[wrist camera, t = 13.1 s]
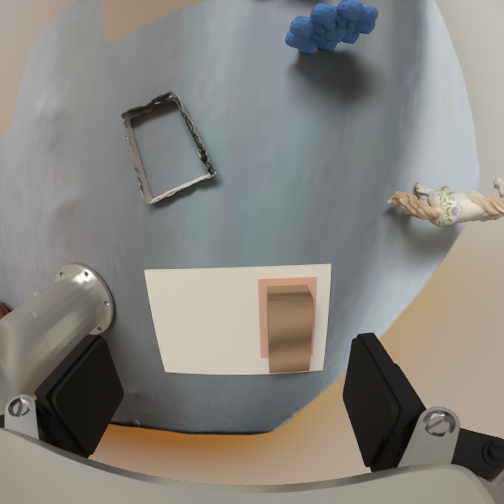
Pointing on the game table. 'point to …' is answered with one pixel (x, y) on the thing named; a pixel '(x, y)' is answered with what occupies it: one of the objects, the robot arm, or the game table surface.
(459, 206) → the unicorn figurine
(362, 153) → the game table surface
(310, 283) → the rubber mat
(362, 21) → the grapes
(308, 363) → the walnut block
